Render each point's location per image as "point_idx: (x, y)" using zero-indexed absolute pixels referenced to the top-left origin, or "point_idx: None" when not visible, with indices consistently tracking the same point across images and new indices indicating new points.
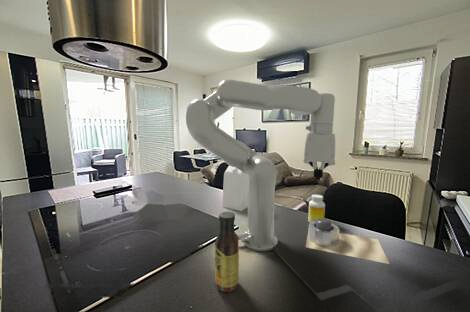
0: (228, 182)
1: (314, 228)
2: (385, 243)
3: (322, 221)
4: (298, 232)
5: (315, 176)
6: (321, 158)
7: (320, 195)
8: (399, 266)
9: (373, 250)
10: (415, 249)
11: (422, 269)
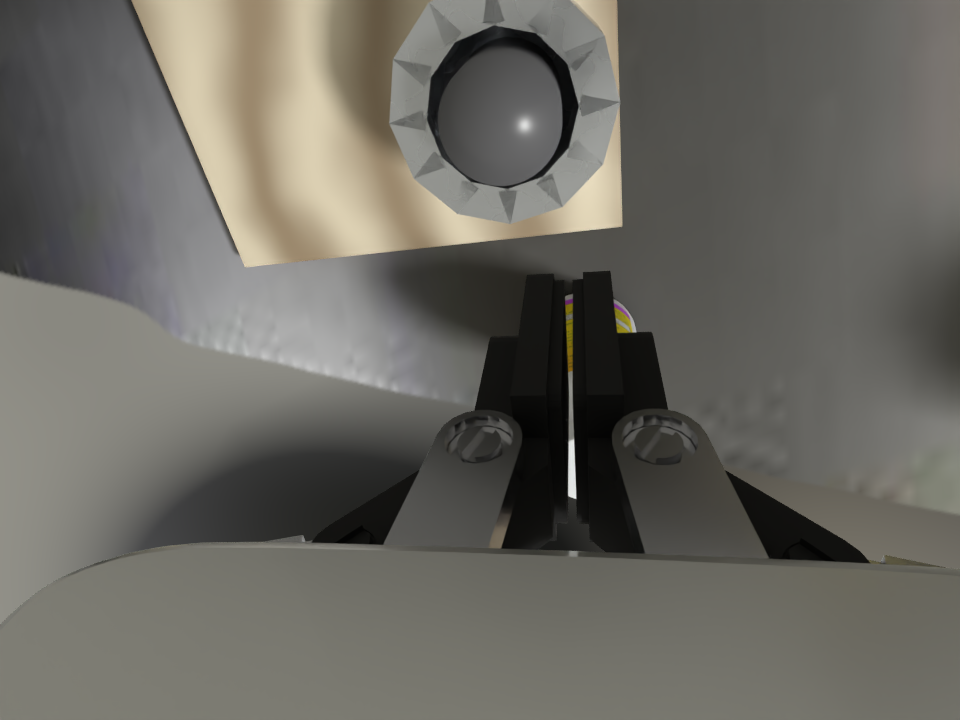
0: None
1: (564, 22)
2: (221, 266)
3: (507, 110)
4: (688, 154)
5: (612, 301)
6: (421, 654)
7: (570, 491)
8: (107, 30)
9: (228, 109)
10: (108, 269)
11: (28, 66)
